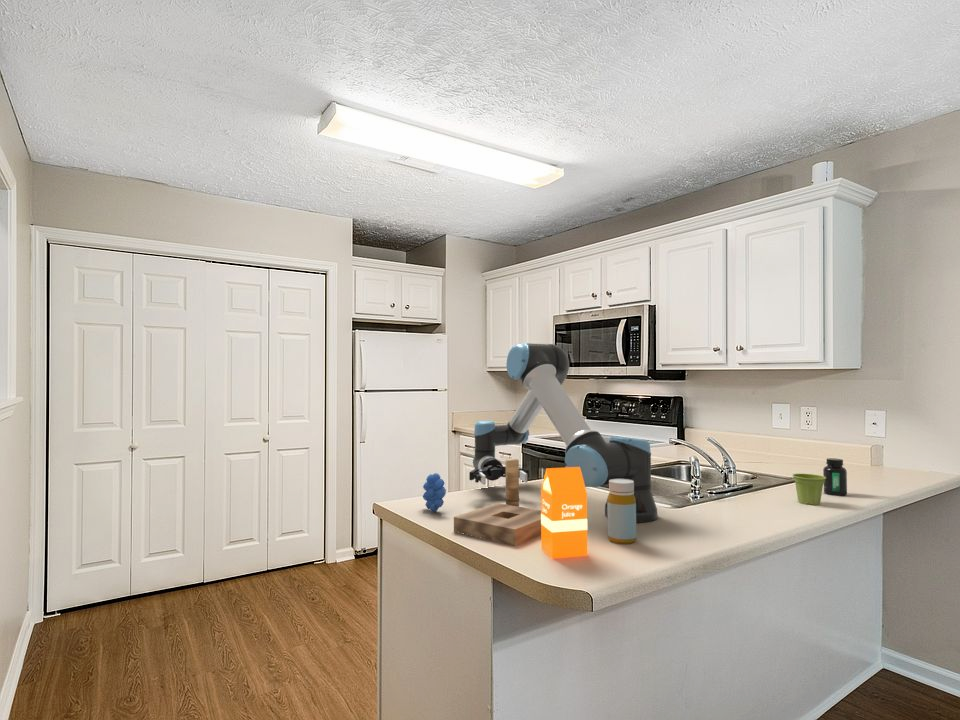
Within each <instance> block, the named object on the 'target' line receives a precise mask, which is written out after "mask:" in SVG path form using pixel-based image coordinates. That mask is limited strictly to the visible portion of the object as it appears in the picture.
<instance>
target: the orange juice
mask: <svg viewBox="0 0 960 720" xmlns="http://www.w3.org/2000/svg"><path fill="white" fill-rule="evenodd" d="M540 510H541V535H540V537H541V543H540V544H541V547H540V548H541V550H542V551H543V552H544V553H545V554H547V555H548V557H550V558H551V559H552V560H553V559H565V558H574V557H575V558H576V557H578V558H579V557H588V492H587V489H586V487H585V485H584V481H583V477H582V473H581V469H580V467H551V468H547V467H546V468H545V473H544V476H543V480H542V484H541V487H540Z"/></svg>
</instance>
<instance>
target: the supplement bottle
mask: <svg viewBox="0 0 960 720" xmlns="http://www.w3.org/2000/svg"><path fill="white" fill-rule="evenodd" d="M825 464H826V466H824V467H823V473H822V476H824V477H826V479H825V481H824V484H823V493H824V494H825V495H827V496H834V497H846V496H847V495H848V478H847V477H848V472H847V471H848V470H847V469H846V468H845V467H844V460H843V459H842V458H826V462H825Z"/></svg>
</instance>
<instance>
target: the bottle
mask: <svg viewBox="0 0 960 720" xmlns="http://www.w3.org/2000/svg"><path fill="white" fill-rule="evenodd" d="M608 488H609V489H608V495H609V496H608V495H607V498H608V499H606V501H607V500H608V501H607V513H608V517H607V538H608V540H610V542H612V543H614V544H619V545H631V544H633V543H635V542H636V541H637V522H636V499H635V496H634V481H633V480H629V479H611V480H609V484H608Z"/></svg>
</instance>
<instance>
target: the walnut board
mask: <svg viewBox="0 0 960 720" xmlns="http://www.w3.org/2000/svg"><path fill="white" fill-rule="evenodd" d="M453 532H454V533H456V532H459V533H458V534H461V533H464V534H463V535H465V534H468V535H467V536H470V535H472V536H471V537H474V536H477V537H476V538H479V537H481V538H480V539H483V538H485V539H484V540H487V539H489V541H492V540H494V541H493V542H496V541H497V542H498V543H501V544H506V545H511V546H514V547H516V546H518V545H520V544H523V543H525V542H527V541H529V540H531V539H535V538H536V537H538V536H541V509H540V510H539V509H534V508H529V507H523V506H519V507H518V506H512V505H506V503H501V502H497V503H493V504H491V505H487V506H484V507H481V508H478V509H475V510H471V511H469V512H466V513H465V512H464V513H462V514H458V515H456V516H453ZM497 542H496V543H497Z"/></svg>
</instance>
